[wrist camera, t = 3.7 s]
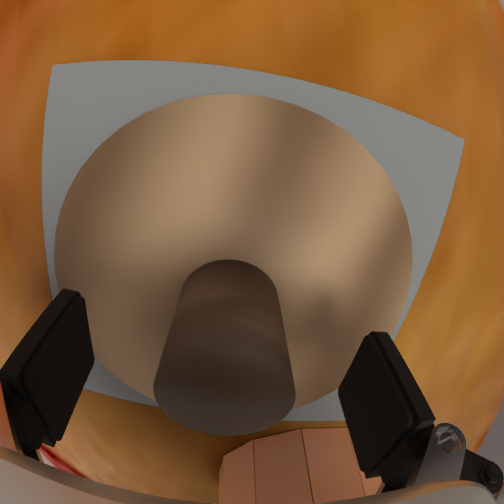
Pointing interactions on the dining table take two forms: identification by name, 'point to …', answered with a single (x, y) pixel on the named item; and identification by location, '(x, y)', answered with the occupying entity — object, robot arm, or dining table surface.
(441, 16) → the dining table surface
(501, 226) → the dining table surface
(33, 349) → the robot arm
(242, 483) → the bowl
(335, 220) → the lid
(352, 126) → the mat
